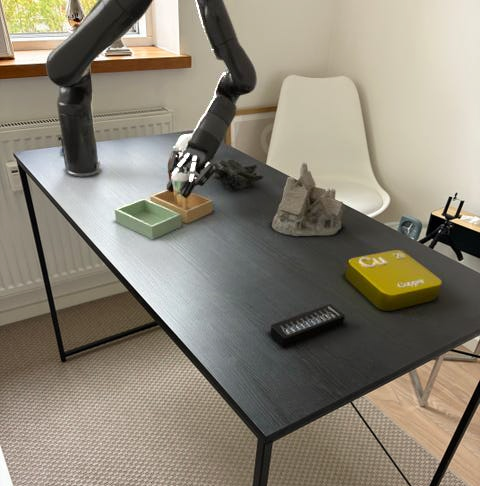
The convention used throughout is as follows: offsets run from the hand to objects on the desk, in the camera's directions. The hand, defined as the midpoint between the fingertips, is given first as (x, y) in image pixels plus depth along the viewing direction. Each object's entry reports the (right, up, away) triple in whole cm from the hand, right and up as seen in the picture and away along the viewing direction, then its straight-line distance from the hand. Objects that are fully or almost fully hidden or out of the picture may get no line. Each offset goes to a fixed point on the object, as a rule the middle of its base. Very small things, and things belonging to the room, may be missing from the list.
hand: (176, 193), depth 126 cm
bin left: (-7, -9, -3) cm, 11 cm away
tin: (-3, +8, +19) cm, 20 cm away
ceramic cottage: (+33, -8, +1) cm, 34 cm away
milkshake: (+1, -3, +4) cm, 5 cm away
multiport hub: (+29, -35, -34) cm, 56 cm away
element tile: (+49, -26, -20) cm, 59 cm away
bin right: (+1, -3, +4) cm, 6 cm away
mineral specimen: (+15, +7, +19) cm, 25 cm away
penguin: (+2, +23, +39) cm, 45 cm away
